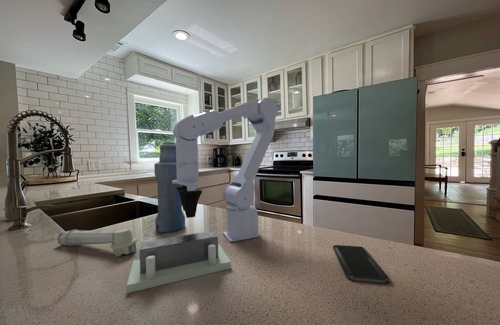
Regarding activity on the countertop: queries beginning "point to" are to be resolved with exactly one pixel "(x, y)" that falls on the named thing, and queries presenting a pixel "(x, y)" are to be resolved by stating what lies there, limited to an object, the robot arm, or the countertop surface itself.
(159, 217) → the bottle
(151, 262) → the peg rack
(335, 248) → the phone
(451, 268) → the countertop surface
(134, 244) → the pale grey handled tool
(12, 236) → the countertop surface
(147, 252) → the steel bar
